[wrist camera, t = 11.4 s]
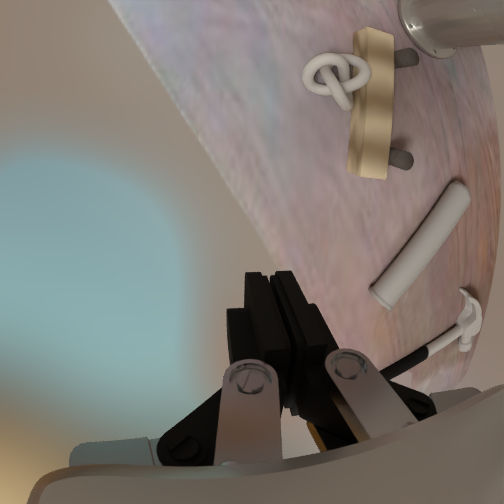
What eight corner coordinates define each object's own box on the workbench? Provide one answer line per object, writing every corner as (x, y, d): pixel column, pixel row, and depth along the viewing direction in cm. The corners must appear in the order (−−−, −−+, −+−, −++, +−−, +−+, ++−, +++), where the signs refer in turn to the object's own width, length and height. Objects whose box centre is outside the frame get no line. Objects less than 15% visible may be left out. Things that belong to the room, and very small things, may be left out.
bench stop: (353, 33, 28) (375, 23, 23) (393, 45, 29) (418, 39, 24) (346, 170, 37) (367, 180, 31) (386, 174, 38) (410, 184, 32)
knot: (364, 103, 33) (387, 103, 28) (312, 118, 33) (330, 119, 28) (346, 53, 30) (367, 44, 24) (291, 65, 30) (306, 56, 25)
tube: (463, 175, 35) (372, 297, 42) (481, 197, 35) (393, 315, 42) (447, 174, 40) (364, 285, 47) (464, 194, 40) (384, 302, 47)
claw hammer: (383, 404, 59) (477, 346, 55) (373, 359, 49) (486, 287, 46) (376, 388, 64) (466, 334, 60) (363, 341, 54) (472, 275, 51)
